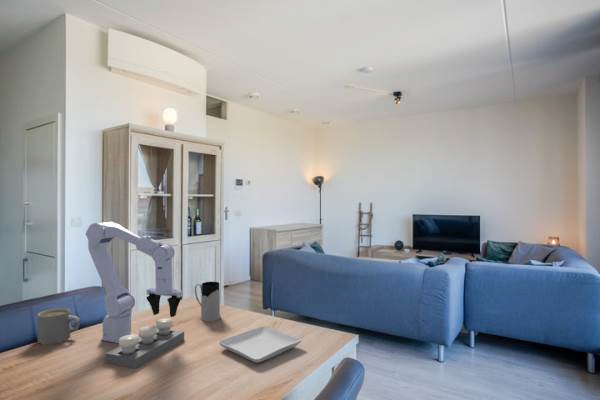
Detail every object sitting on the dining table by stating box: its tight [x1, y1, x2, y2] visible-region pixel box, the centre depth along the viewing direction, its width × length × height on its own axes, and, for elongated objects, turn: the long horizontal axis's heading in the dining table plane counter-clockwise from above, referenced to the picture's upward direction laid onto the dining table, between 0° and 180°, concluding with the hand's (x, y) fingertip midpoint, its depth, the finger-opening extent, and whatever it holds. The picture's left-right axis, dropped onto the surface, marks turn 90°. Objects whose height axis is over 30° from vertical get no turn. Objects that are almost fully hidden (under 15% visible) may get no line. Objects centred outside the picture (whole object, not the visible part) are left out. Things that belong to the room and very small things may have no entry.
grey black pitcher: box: [194, 281, 222, 322], centre depth 160 cm, size 9×14×15 cm, turn 57°
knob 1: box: [118, 334, 139, 356], centre depth 117 cm, size 6×6×5 cm
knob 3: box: [155, 317, 174, 336], centre depth 133 cm, size 6×6×5 cm
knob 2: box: [138, 325, 157, 345], centre depth 125 cm, size 6×6×5 cm
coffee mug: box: [37, 307, 81, 345], centre depth 135 cm, size 13×10×10 cm
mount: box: [104, 329, 185, 369], centre depth 125 cm, size 12×24×3 cm, turn 161°
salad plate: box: [218, 326, 302, 363], centre depth 127 cm, size 21×21×3 cm
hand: (164, 315), depth 133 cm, fingers open, 7 cm apart
